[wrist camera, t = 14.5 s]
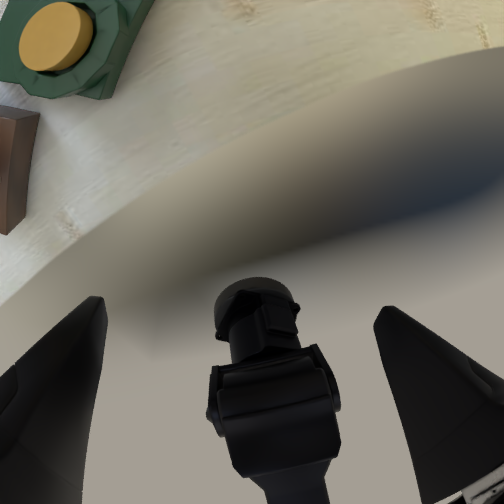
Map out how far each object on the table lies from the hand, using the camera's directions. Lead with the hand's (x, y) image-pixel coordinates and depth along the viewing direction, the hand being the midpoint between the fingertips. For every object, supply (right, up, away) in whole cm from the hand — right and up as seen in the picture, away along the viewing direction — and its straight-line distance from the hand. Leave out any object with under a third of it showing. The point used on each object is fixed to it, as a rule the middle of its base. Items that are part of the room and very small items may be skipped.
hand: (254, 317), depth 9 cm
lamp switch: (-10, +13, +1) cm, 16 cm away
